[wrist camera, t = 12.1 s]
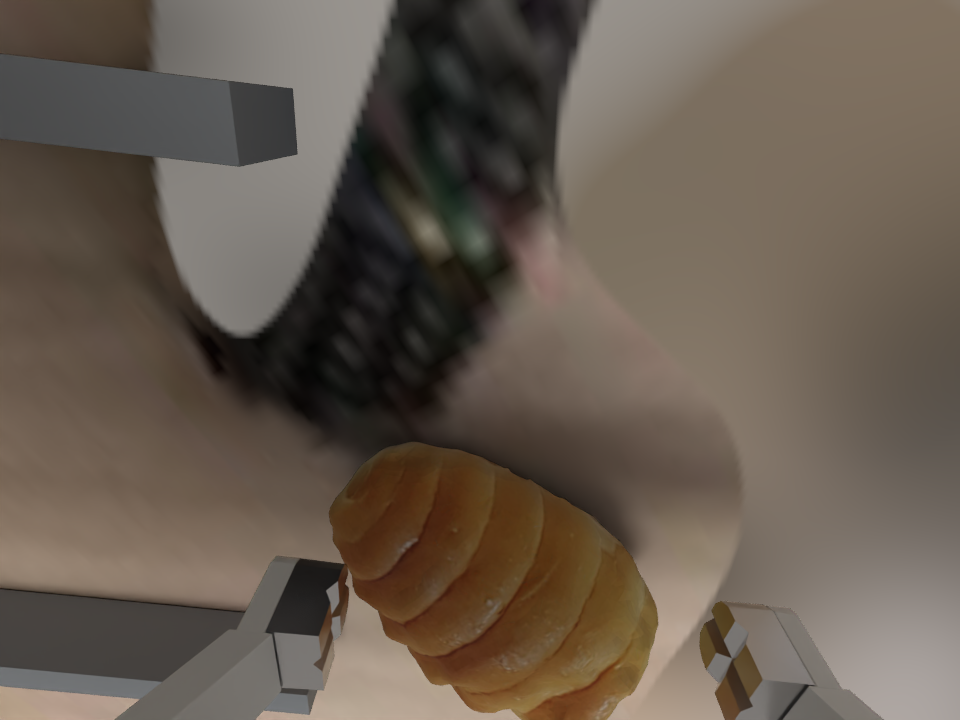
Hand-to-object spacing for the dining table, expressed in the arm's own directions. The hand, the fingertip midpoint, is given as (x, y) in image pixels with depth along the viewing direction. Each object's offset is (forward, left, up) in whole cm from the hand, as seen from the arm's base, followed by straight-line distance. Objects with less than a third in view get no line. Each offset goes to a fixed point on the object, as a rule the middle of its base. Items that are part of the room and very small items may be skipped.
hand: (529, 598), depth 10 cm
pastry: (-1, -1, -5) cm, 5 cm away
